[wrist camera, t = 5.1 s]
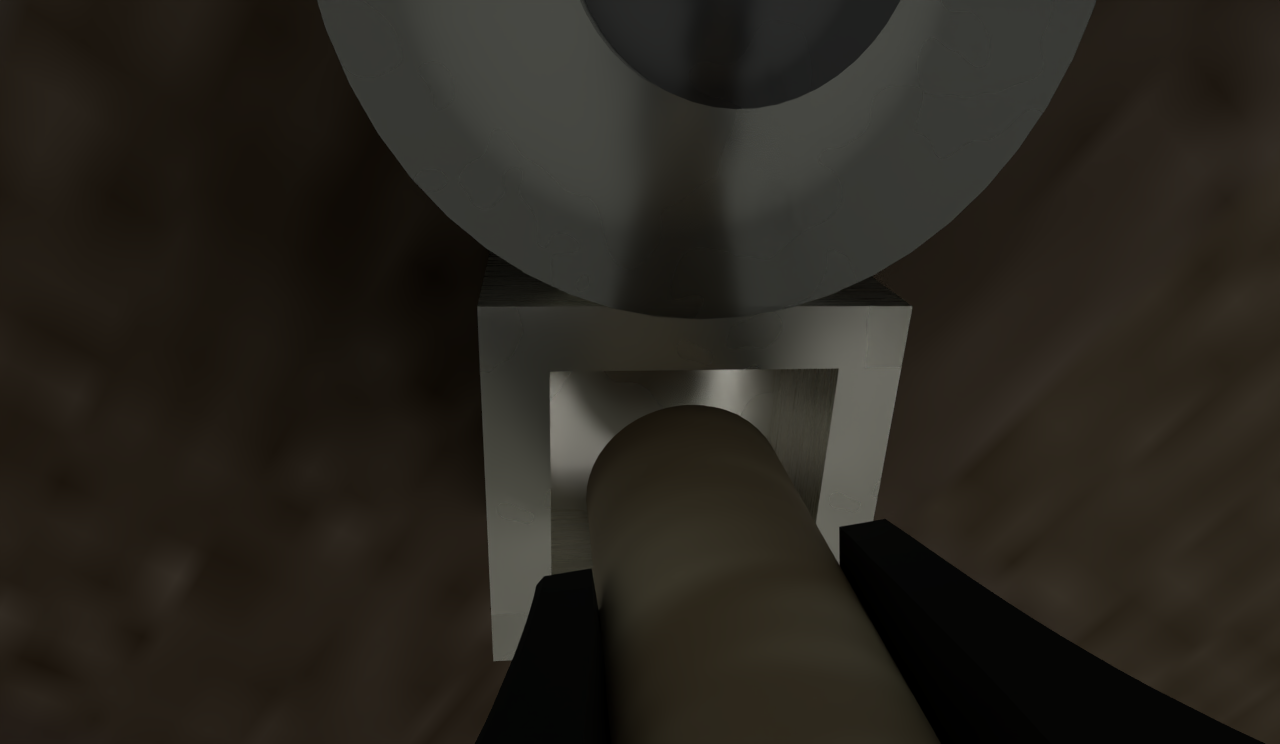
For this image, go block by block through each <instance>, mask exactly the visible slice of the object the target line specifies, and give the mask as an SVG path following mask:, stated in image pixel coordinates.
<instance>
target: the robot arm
mask: <svg viewBox="0 0 1280 744" xmlns="http://www.w3.org/2000/svg"><path fill="white" fill-rule="evenodd" d="M839 559H840V567H841V569H842V571H843V572H844V574H845V576H846V578H847V579H848V581H849V583H850V585H851V586H852V588H853V590H854V592H855V593H856V595H857V597H858V599H859V601H860V602H861V604H862V606H863V608H864V609H865V611H866V613H867V615H868V616H869V618H870V620H871V622H872V623H873V625H874V627H875V629H876V630H877V632H878V634H879V636H880V637H881V639H882V641H883V643H884V644H885V646H886V648H887V650H888V651H889V653H890V655H891V657H892V658H893V660H894V662H895V664H896V666H897V667H898V669H899V671H900V673H901V674H902V676H903V678H904V680H905V681H906V683H907V685H908V687H909V688H910V690H911V692H912V694H913V695H914V697H915V699H916V701H917V702H918V704H919V706H920V708H921V709H922V711H923V713H924V715H925V716H926V718H927V720H928V722H929V724H930V725H931V727H932V729H933V731H934V732H935V734H936V736H937V738H938V739H939V741H940V743H941V744H1265V743H1263V742H1261V741H1259V740H1256V739H1254V738H1252V737H1250V736H1248V735H1246V734H1244V733H1241V732H1239V731H1237V730H1235V729H1233V728H1231V727H1229V726H1227V725H1225V724H1222V723H1220V722H1218V721H1216V720H1215V719H1213V718H1211V717H1209V716H1207V715H1205V714H1203V713H1201V712H1199V711H1197V710H1195V709H1193V708H1191V707H1189V706H1187V705H1185V704H1183V703H1181V702H1179V701H1177V700H1175V699H1173V698H1171V697H1169V696H1167V695H1165V694H1163V693H1161V692H1159V691H1157V690H1155V689H1153V688H1151V687H1150V686H1148V685H1146V684H1144V683H1142V682H1140V681H1139V680H1137V679H1135V678H1133V677H1131V676H1129V675H1127V674H1126V673H1124V672H1122V671H1120V670H1118V669H1117V668H1115V667H1113V666H1111V665H1110V664H1108V663H1106V662H1105V661H1103V660H1101V659H1099V658H1098V657H1096V656H1094V655H1093V654H1091V653H1089V652H1087V651H1086V650H1084V649H1082V648H1081V647H1079V646H1077V645H1075V644H1074V643H1072V642H1070V641H1069V640H1067V639H1065V638H1064V637H1062V636H1060V635H1059V634H1057V633H1055V632H1054V631H1052V630H1050V629H1049V628H1047V627H1046V626H1044V625H1042V624H1041V623H1039V622H1038V621H1036V620H1034V619H1033V618H1031V617H1030V616H1028V615H1026V614H1025V613H1023V612H1022V611H1020V610H1019V609H1017V608H1015V607H1014V606H1012V605H1011V604H1009V603H1008V602H1006V601H1005V600H1003V599H1002V598H1000V597H999V596H997V595H996V594H994V593H993V592H991V591H990V590H988V589H987V588H985V587H984V586H982V585H981V584H979V583H978V582H976V581H975V580H973V579H972V578H970V577H969V576H967V575H966V574H964V573H963V572H961V571H960V570H959V569H957V568H956V567H954V566H953V565H951V564H950V563H948V562H947V561H945V560H944V559H943V558H941V557H940V556H938V555H937V554H935V553H934V552H932V551H931V550H930V549H928V548H927V547H925V546H924V545H922V544H921V543H920V542H918V541H917V540H915V539H914V538H912V537H911V536H910V535H908V534H907V533H905V532H904V531H902V530H901V529H899V528H898V527H896V526H895V525H893V524H892V523H890V522H889V521H887V520H886V519H882V520H876V521H870V522H864V523H858V524H853V525H847V526H841V527H839ZM475 744H611V738H610V728H609V718H608V709H607V699H606V679H605V665H604V655H603V645H602V636H601V626H600V617H599V609H598V603H597V597H596V591H595V585H594V580H593V574H592V568H590V569H584V570H578V571H572V572H566V573H560V574H554V575H548V576H544V577H543V578H542V579H541V580H540V581H539V583H538V584H537V585H536V589H535V593H534V597H533V601H532V604H531V608H530V611H529V615H528V618H527V621H526V624H525V627H524V630H523V632H522V635H521V638H520V641H519V643H518V646H517V649H516V651H515V654H514V657H513V659H512V662H511V664H510V667H509V669H508V671H507V674H506V676H505V678H504V681H503V683H502V686H501V688H500V690H499V693H498V695H497V697H496V700H495V702H494V705H493V707H492V709H491V711H490V714H489V716H488V718H487V720H486V722H485V724H484V726H483V728H482V730H481V732H480V734H479V736H478V738H477V740H476V742H475Z"/></svg>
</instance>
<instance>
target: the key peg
mask: <svg viewBox="0 0 1280 744" xmlns="http://www.w3.org/2000/svg"><path fill="white" fill-rule="evenodd" d="M586 503H587V513H588V523H589V532H590V542H591V552H592V562H593V572H594V581H595V591H596V597H597V603H598V609H599V617H600V626H601V636H602V645H603V655H604V665H605V679H606V699H607V709H608V718H609V728H610V738H611V744H941V743H940V741H939V739H938V738H937V736H936V734H935V732H934V731H933V729H932V727H931V725H930V724H929V722H928V720H927V718H926V716H925V715H924V713H923V711H922V709H921V708H920V706H919V704H918V702H917V701H916V699H915V697H914V695H913V694H912V692H911V690H910V688H909V687H908V685H907V683H906V681H905V680H904V678H903V676H902V674H901V673H900V671H899V669H898V667H897V666H896V664H895V662H894V660H893V658H892V657H891V655H890V653H889V651H888V650H887V648H886V646H885V644H884V643H883V641H882V639H881V637H880V636H879V634H878V632H877V630H876V629H875V627H874V625H873V623H872V622H871V620H870V618H869V616H868V615H867V613H866V611H865V609H864V608H863V606H862V604H861V602H860V601H859V599H858V597H857V595H856V593H855V592H854V590H853V588H852V586H851V585H850V583H849V581H848V579H847V578H846V576H845V574H844V572H843V571H842V569H841V567H840V565H839V564H838V562H837V560H836V558H835V557H834V555H833V553H832V551H831V550H830V548H829V546H828V544H827V543H826V541H825V539H824V537H823V535H822V534H821V532H820V530H819V528H818V527H817V525H816V523H815V521H814V520H813V518H812V516H811V514H810V513H809V511H808V509H807V507H806V506H805V504H804V502H803V500H802V499H801V497H800V495H799V493H798V492H797V490H796V488H795V486H794V485H793V483H792V481H791V479H790V478H789V476H788V474H787V472H786V470H785V469H784V467H783V465H782V463H781V462H780V460H779V458H778V456H777V455H776V453H775V451H774V449H773V448H772V446H771V444H770V443H769V441H768V440H767V439H766V437H765V436H764V435H763V434H762V433H761V432H760V431H759V429H758V428H756V427H755V426H754V425H753V424H751V423H750V422H749V421H747V420H746V419H744V418H742V417H741V416H739V415H737V414H735V413H732V412H730V411H727V410H724V409H721V408H717V407H712V406H705V405H681V406H673V407H669V408H664V409H660V410H657V411H655V412H652V413H649V414H647V415H645V416H643V417H641V418H639V419H637V420H635V421H633V422H632V423H630V424H629V425H627V426H626V427H624V428H623V429H622V430H621V431H620V432H618V433H617V434H616V435H615V436H614V437H613V438H612V439H611V440H610V441H609V442H608V443H607V444H606V446H605V447H604V448H603V450H602V451H601V453H600V454H599V456H598V458H597V459H596V461H595V463H594V465H593V468H592V470H591V473H590V476H589V480H588V485H587V493H586Z"/></svg>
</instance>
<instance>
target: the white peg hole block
mask: <svg viewBox="0 0 1280 744" xmlns="http://www.w3.org/2000/svg"><path fill="white" fill-rule="evenodd" d="M317 1H318V4H319V8H320V11H321V15H322V18H323V21H324V25H325V28H326V30H327V33H328V35H329V37H330V40H331V42H332V44H333V47H334V49H335V51H336V54H337V56H338V58H339V61H340V63H341V65H342V68H343V70H344V72H345V75H346V77H347V79H348V82H349V84H350V86H351V87H352V89H353V91H354V93H355V94H356V96H357V98H358V99H359V101H360V103H361V105H362V106H363V108H364V110H365V112H366V113H367V115H368V117H369V119H370V120H371V122H372V124H373V126H374V127H375V129H376V131H377V133H378V134H379V136H380V137H381V138H382V140H383V141H384V142H385V144H386V145H387V146H388V148H389V149H390V150H391V152H392V153H393V154H394V156H395V157H396V158H397V160H398V161H399V162H400V164H401V165H402V166H403V168H404V169H405V171H406V172H407V173H408V175H409V176H410V177H411V178H412V180H413V181H414V182H415V183H416V184H417V185H418V186H419V187H420V188H421V189H422V190H423V191H424V192H425V193H426V194H427V195H428V196H429V197H430V198H431V200H432V201H433V202H434V203H435V204H436V205H437V206H438V207H439V208H440V209H441V210H442V211H443V212H444V213H445V214H446V215H447V216H448V217H449V218H450V219H451V220H453V221H454V222H455V223H456V224H457V225H459V226H460V227H461V228H462V229H463V230H465V231H466V232H467V233H468V234H469V235H471V236H472V237H473V238H474V239H476V240H477V241H478V242H479V243H480V244H482V245H483V246H484V247H485V248H486V249H488V250H490V253H489V257H488V262H487V266H486V270H485V275H484V279H483V283H482V288H481V292H480V296H479V301H478V305H477V314H478V336H479V358H480V379H481V401H482V422H483V444H484V466H485V487H486V509H487V530H488V552H489V574H490V595H491V617H492V638H493V660H494V661H503V660H512V659H513V657H514V654H515V651H516V649H517V646H518V643H519V641H520V638H521V635H522V632H523V630H524V627H525V624H526V621H527V618H528V615H529V611H530V608H531V604H532V601H533V597H534V593H535V589H536V585H537V584H538V583H539V581H540V580H541V579H542V578H543V577H544V576H548V575H554V574H560V573H566V572H572V571H578V570H584V569H590V568H592V574H593V580H594V572H593V562H592V552H591V542H590V532H589V523H588V513H587V503H586V493H587V485H588V480H589V476H590V473H591V470H592V468H593V465H594V463H595V461H596V459H597V458H598V456H599V454H600V453H601V451H602V450H603V448H604V447H605V446H606V444H607V443H608V442H609V441H610V440H611V439H612V438H613V437H614V436H615V435H616V434H617V433H618V432H620V431H621V430H622V429H623V428H624V427H626V426H627V425H629V424H630V423H632V422H633V421H635V420H637V419H639V418H641V417H643V416H645V415H647V414H649V413H652V412H655V411H657V410H660V409H664V408H669V407H673V406H681V405H705V406H712V407H717V408H721V409H724V410H727V411H730V412H732V413H735V414H737V415H739V416H741V417H742V418H744V419H746V420H747V421H749V422H750V423H751V424H753V425H754V426H755V427H756V428H758V429H759V431H760V432H761V433H762V434H763V435H764V436H765V437H766V439H767V440H768V441H769V443H770V444H771V446H772V448H773V449H774V451H775V453H776V455H777V456H778V458H779V460H780V462H781V463H782V465H783V467H784V469H785V470H786V472H787V474H788V476H789V478H790V479H791V481H792V483H793V485H794V486H795V488H796V490H797V492H798V493H799V495H800V497H801V499H802V500H803V502H804V504H805V506H806V507H807V509H808V511H809V513H810V514H811V516H812V518H813V520H814V521H815V523H816V525H817V527H818V528H819V530H820V532H821V534H822V535H823V537H824V539H825V541H826V543H827V544H828V546H829V548H830V550H831V551H832V553H833V555H834V557H835V558H836V560H837V562H838V564H839V565H840V559H839V527H841V526H847V525H853V524H858V523H864V522H870V521H873V518H874V513H875V508H876V502H877V497H878V491H879V486H880V480H881V475H882V469H883V464H884V459H885V453H886V448H887V442H888V437H889V431H890V426H891V420H892V415H893V410H894V404H895V399H896V393H897V388H898V382H899V377H900V371H901V366H902V361H903V355H904V350H905V344H906V339H907V333H908V328H909V322H910V317H911V312H912V306H911V305H910V304H909V303H907V302H906V301H905V300H903V299H902V298H901V297H899V296H898V295H896V294H895V293H894V292H892V291H891V290H890V289H888V288H887V287H886V286H884V285H883V284H881V283H880V282H879V281H877V280H876V279H875V278H873V277H872V276H873V275H875V274H876V273H878V272H880V271H881V270H883V269H884V268H886V267H888V266H889V265H891V264H893V263H894V262H896V261H898V260H899V259H901V258H903V257H904V256H906V255H908V254H909V253H911V252H912V251H914V250H915V249H916V248H918V247H919V246H920V245H922V244H923V243H924V242H925V241H927V240H928V239H929V238H931V237H932V236H933V235H934V234H936V233H937V232H938V231H940V230H941V229H942V228H944V227H945V226H946V225H947V224H949V223H950V222H951V221H952V220H953V219H954V218H955V217H956V216H957V215H958V214H959V213H960V212H961V211H963V210H964V209H965V208H966V207H967V206H968V205H969V204H970V203H971V202H972V201H973V200H974V199H975V198H976V197H977V196H978V195H979V194H980V193H981V192H982V191H983V190H984V189H985V188H986V187H987V186H988V185H989V184H990V182H991V181H992V180H993V179H994V178H995V176H996V175H997V174H998V173H999V172H1000V170H1001V169H1002V168H1003V167H1004V166H1005V165H1006V163H1007V162H1008V161H1009V160H1010V159H1011V157H1012V156H1013V155H1014V154H1015V153H1016V151H1017V150H1018V149H1019V147H1020V146H1021V144H1022V143H1023V141H1024V140H1025V139H1026V137H1027V136H1028V134H1029V133H1030V131H1031V130H1032V128H1033V127H1034V125H1035V124H1036V122H1037V121H1038V119H1039V118H1040V116H1041V115H1042V113H1043V112H1044V110H1045V109H1046V107H1047V106H1048V104H1049V102H1050V100H1051V98H1052V97H1053V95H1054V93H1055V91H1056V89H1057V87H1058V85H1059V84H1060V82H1061V80H1062V78H1063V76H1064V74H1065V72H1066V70H1067V69H1068V67H1069V65H1070V63H1071V61H1072V59H1073V57H1074V55H1075V52H1076V50H1077V47H1078V45H1079V43H1080V40H1081V38H1082V35H1083V33H1084V30H1085V28H1086V26H1087V23H1088V21H1089V18H1090V16H1091V13H1092V11H1093V8H1094V6H1095V3H1096V0H317ZM594 585H595V581H594Z"/></svg>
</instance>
